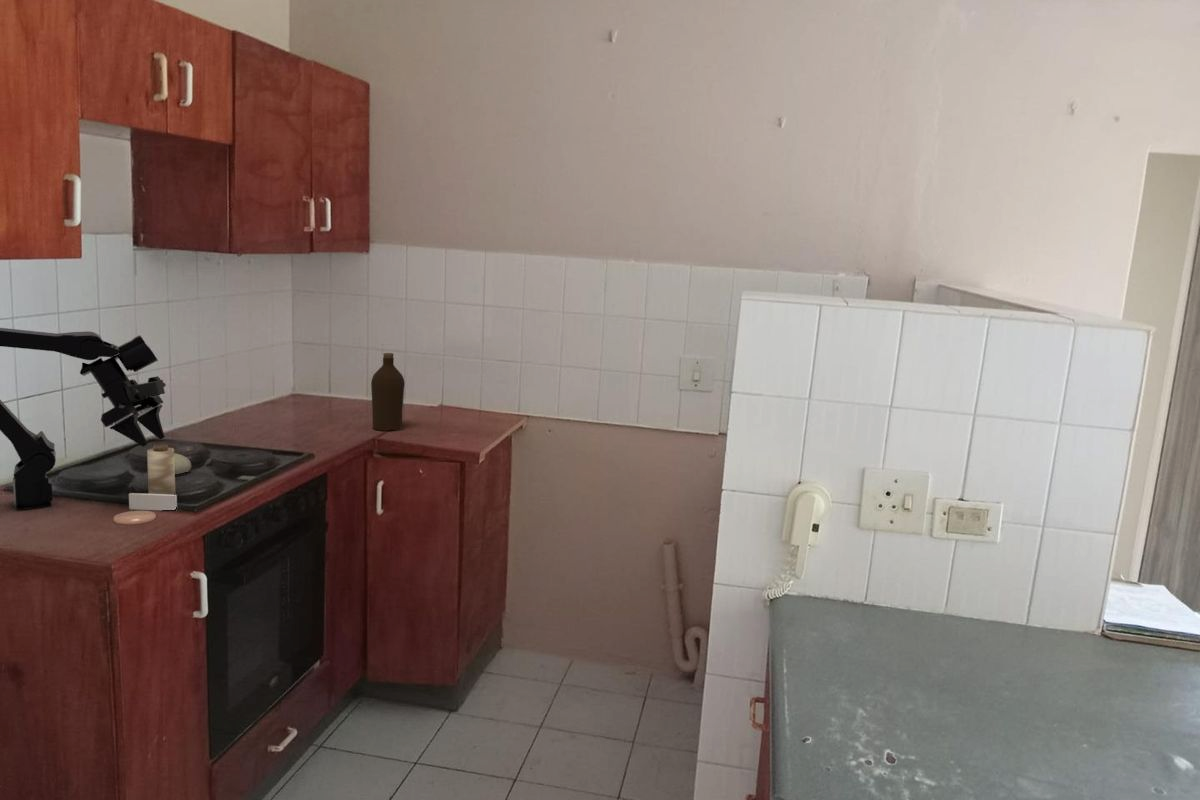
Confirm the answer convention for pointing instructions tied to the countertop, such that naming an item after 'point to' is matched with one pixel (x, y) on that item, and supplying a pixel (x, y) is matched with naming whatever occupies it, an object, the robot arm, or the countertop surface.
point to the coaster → (134, 517)
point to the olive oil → (387, 396)
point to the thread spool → (161, 470)
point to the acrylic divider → (152, 501)
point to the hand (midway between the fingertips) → (154, 441)
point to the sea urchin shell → (181, 464)
